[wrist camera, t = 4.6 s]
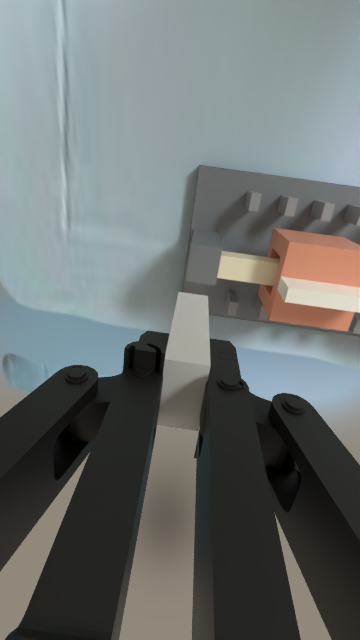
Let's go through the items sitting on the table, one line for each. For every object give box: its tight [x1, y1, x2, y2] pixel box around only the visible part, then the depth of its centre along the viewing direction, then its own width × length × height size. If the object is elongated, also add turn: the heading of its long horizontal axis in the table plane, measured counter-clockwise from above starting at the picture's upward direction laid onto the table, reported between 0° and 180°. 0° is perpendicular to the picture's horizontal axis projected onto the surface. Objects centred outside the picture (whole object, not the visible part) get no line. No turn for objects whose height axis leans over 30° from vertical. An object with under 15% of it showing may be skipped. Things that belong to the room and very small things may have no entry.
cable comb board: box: [182, 165, 360, 336], centre depth 29 cm, size 28×14×8 cm, turn 83°
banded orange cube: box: [258, 228, 360, 332], centre depth 25 cm, size 6×6×8 cm
